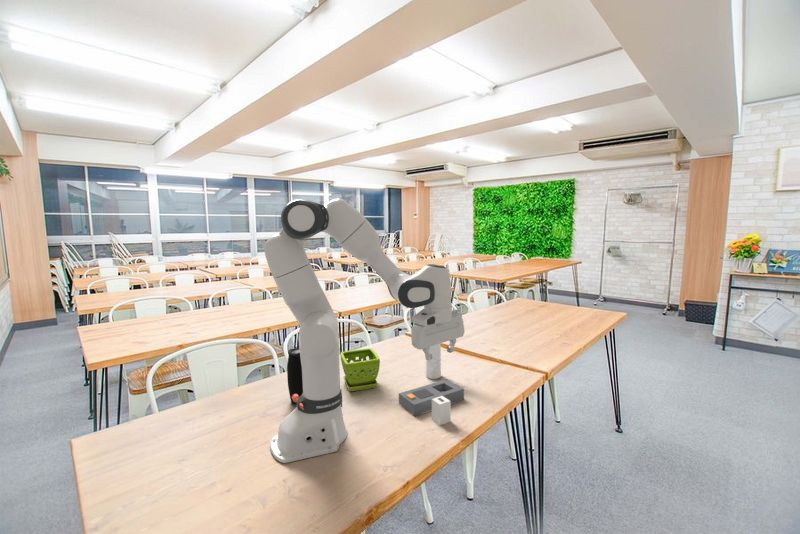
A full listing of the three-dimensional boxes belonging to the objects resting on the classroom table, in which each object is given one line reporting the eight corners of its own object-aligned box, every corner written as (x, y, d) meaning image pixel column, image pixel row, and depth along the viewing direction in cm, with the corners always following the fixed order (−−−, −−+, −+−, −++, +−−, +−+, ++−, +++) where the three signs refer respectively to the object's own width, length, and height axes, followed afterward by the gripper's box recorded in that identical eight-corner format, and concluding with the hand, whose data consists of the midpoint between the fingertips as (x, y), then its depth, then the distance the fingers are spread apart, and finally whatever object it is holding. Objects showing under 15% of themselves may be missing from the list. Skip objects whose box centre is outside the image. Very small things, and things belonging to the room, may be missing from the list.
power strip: (414, 415, 122) (414, 403, 121) (398, 403, 130) (398, 391, 130) (463, 399, 133) (464, 387, 133) (446, 389, 142) (446, 377, 141)
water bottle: (431, 380, 150) (431, 321, 147) (422, 375, 155) (422, 318, 153) (448, 375, 155) (447, 318, 152) (438, 370, 160) (438, 315, 157)
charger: (439, 425, 116) (439, 404, 115) (431, 419, 120) (431, 398, 119) (450, 421, 118) (450, 400, 118) (442, 415, 122) (442, 395, 121)
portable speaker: (284, 403, 132) (281, 351, 130) (301, 393, 140) (299, 344, 138) (302, 408, 128) (299, 355, 126) (319, 397, 137) (316, 347, 134)
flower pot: (340, 380, 151) (339, 351, 150) (373, 376, 155) (372, 347, 154) (346, 395, 138) (345, 363, 137) (381, 389, 142) (380, 358, 141)
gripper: (454, 307, 125) (455, 345, 126) (407, 318, 113) (409, 360, 115) (468, 309, 120) (469, 350, 121) (420, 322, 108) (422, 366, 109)
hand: (439, 355), depth 118 cm, fingers open, 8 cm apart
